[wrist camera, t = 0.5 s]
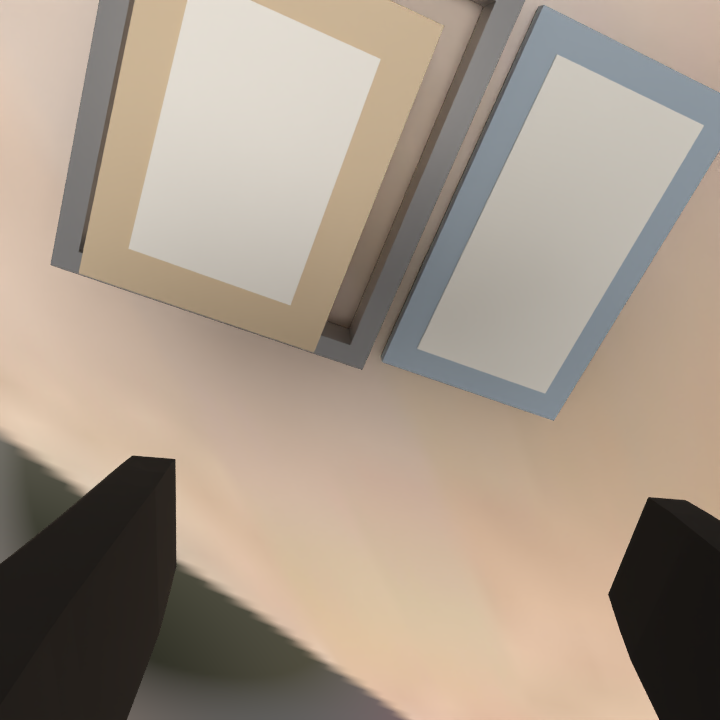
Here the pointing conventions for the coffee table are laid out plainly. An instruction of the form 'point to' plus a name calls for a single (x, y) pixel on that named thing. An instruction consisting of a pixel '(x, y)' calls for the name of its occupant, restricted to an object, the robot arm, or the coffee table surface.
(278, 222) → the box
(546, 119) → the pad
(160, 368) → the coffee table surface
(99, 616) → the robot arm
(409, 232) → the grey square frame
